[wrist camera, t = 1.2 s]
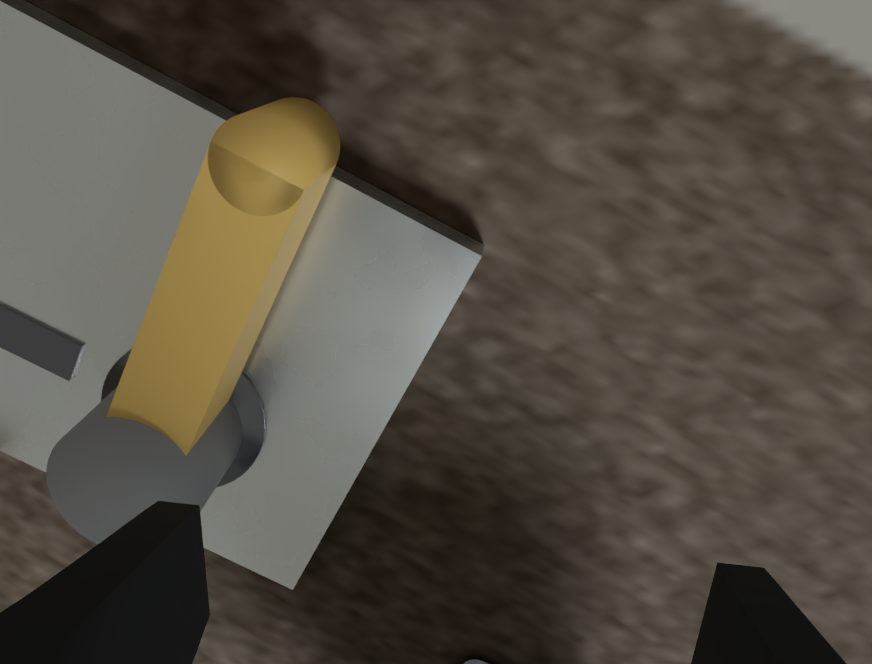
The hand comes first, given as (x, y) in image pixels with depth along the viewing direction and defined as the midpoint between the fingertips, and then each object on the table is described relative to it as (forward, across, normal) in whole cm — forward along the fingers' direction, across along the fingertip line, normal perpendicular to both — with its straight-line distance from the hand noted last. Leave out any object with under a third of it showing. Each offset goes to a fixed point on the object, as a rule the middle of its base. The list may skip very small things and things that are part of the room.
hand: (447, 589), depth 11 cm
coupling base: (+10, +10, +1) cm, 14 cm away
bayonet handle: (+9, +6, 0) cm, 11 cm away
